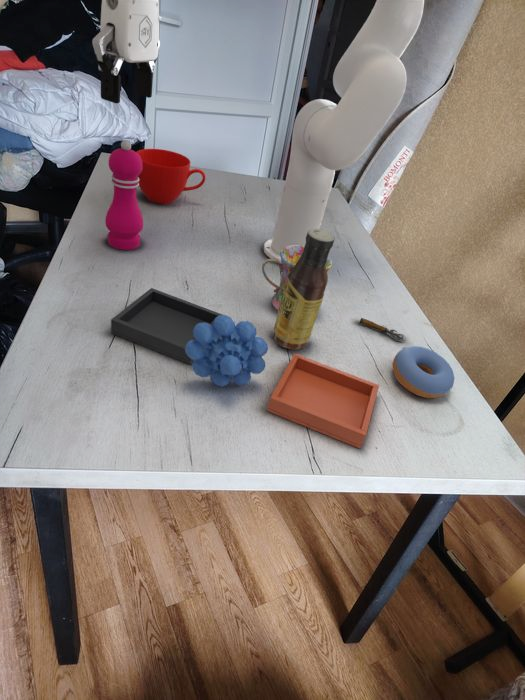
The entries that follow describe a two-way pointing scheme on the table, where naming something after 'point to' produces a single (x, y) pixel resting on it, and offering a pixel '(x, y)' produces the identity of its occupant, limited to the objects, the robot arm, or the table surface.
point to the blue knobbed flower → (226, 351)
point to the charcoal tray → (161, 323)
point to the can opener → (381, 329)
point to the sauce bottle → (303, 292)
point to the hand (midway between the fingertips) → (127, 98)
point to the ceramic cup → (165, 175)
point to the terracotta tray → (324, 400)
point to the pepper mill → (124, 199)
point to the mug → (287, 269)
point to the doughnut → (423, 372)
